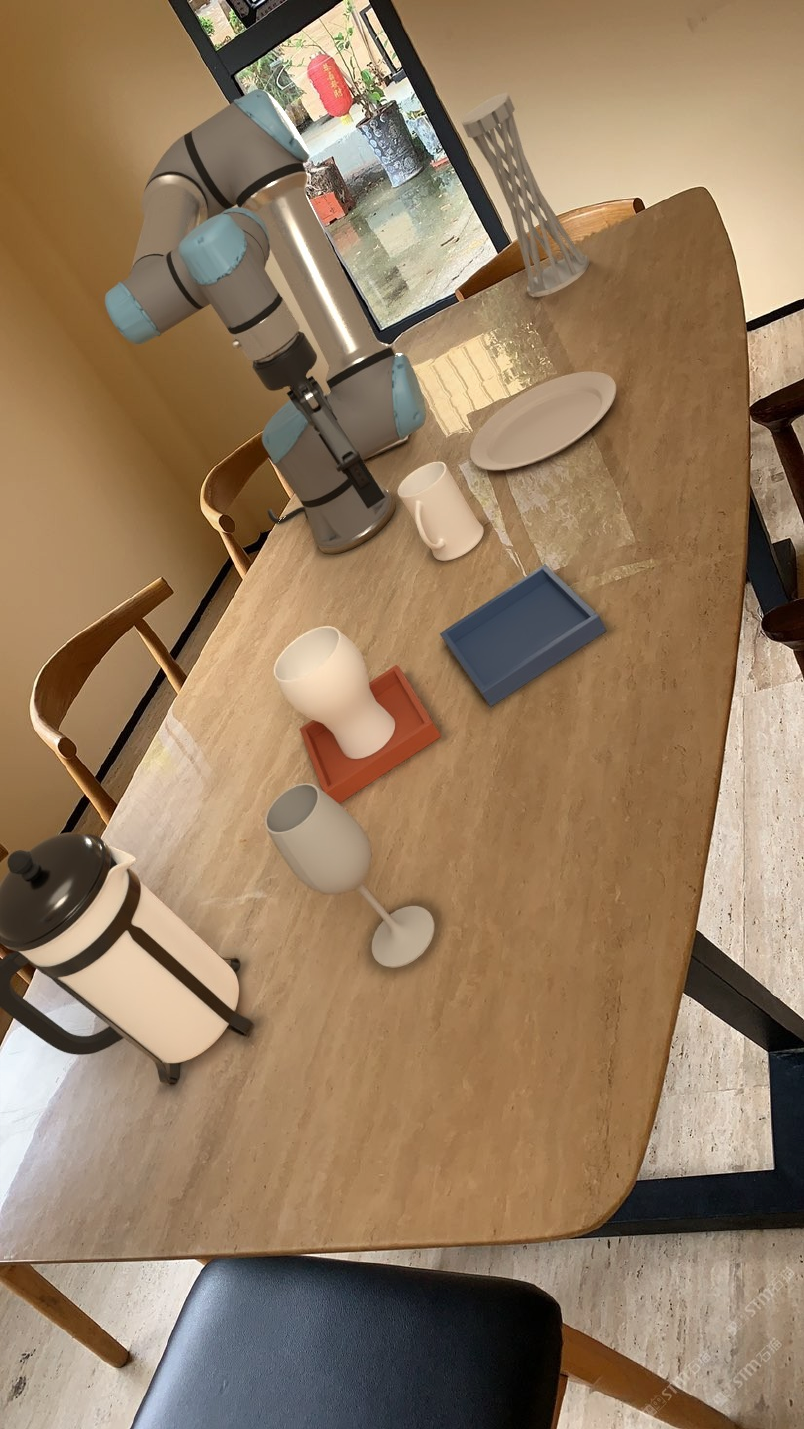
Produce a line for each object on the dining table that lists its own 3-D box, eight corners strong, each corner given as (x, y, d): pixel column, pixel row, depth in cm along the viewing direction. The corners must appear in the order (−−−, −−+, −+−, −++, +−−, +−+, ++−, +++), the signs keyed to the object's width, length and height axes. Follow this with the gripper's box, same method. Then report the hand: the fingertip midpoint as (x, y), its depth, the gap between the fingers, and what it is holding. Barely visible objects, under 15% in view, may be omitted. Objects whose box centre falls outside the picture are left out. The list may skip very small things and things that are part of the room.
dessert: (365, 436, 206) (353, 416, 203) (418, 412, 201) (406, 391, 198) (355, 467, 198) (342, 447, 195) (410, 444, 192) (397, 422, 190)
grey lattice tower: (517, 301, 216) (439, 136, 197) (549, 265, 222) (477, 101, 202) (568, 290, 207) (492, 114, 187) (601, 253, 212) (530, 78, 192)
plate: (646, 409, 157) (641, 397, 156) (500, 499, 160) (495, 489, 159) (585, 366, 178) (581, 356, 177) (458, 447, 181) (452, 437, 180)
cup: (332, 728, 138) (270, 648, 130) (402, 694, 136) (343, 610, 127) (334, 780, 130) (267, 698, 121) (409, 745, 127) (346, 658, 119)
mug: (465, 570, 151) (427, 505, 144) (418, 579, 156) (378, 517, 149) (491, 519, 157) (455, 455, 151) (445, 529, 162) (408, 467, 156)
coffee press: (193, 950, 121) (16, 786, 104) (287, 974, 110) (106, 796, 94) (105, 1087, 112) (-104, 932, 95) (198, 1127, 102) (-19, 961, 85)
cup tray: (309, 741, 140) (299, 728, 138) (406, 677, 139) (397, 663, 138) (334, 806, 127) (323, 793, 126) (441, 736, 126) (431, 722, 125)
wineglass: (444, 903, 106) (338, 771, 95) (424, 969, 102) (310, 838, 90) (384, 906, 110) (275, 780, 99) (361, 969, 106) (244, 844, 94)
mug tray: (448, 646, 139) (439, 633, 138) (552, 577, 138) (544, 563, 137) (490, 707, 125) (481, 693, 124) (606, 630, 124) (599, 615, 123)
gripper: (235, 341, 137) (320, 470, 149) (267, 390, 117) (362, 534, 129) (283, 309, 137) (364, 440, 149) (322, 352, 116) (412, 501, 128)
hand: (363, 484), depth 139 cm, fingers open, 13 cm apart
